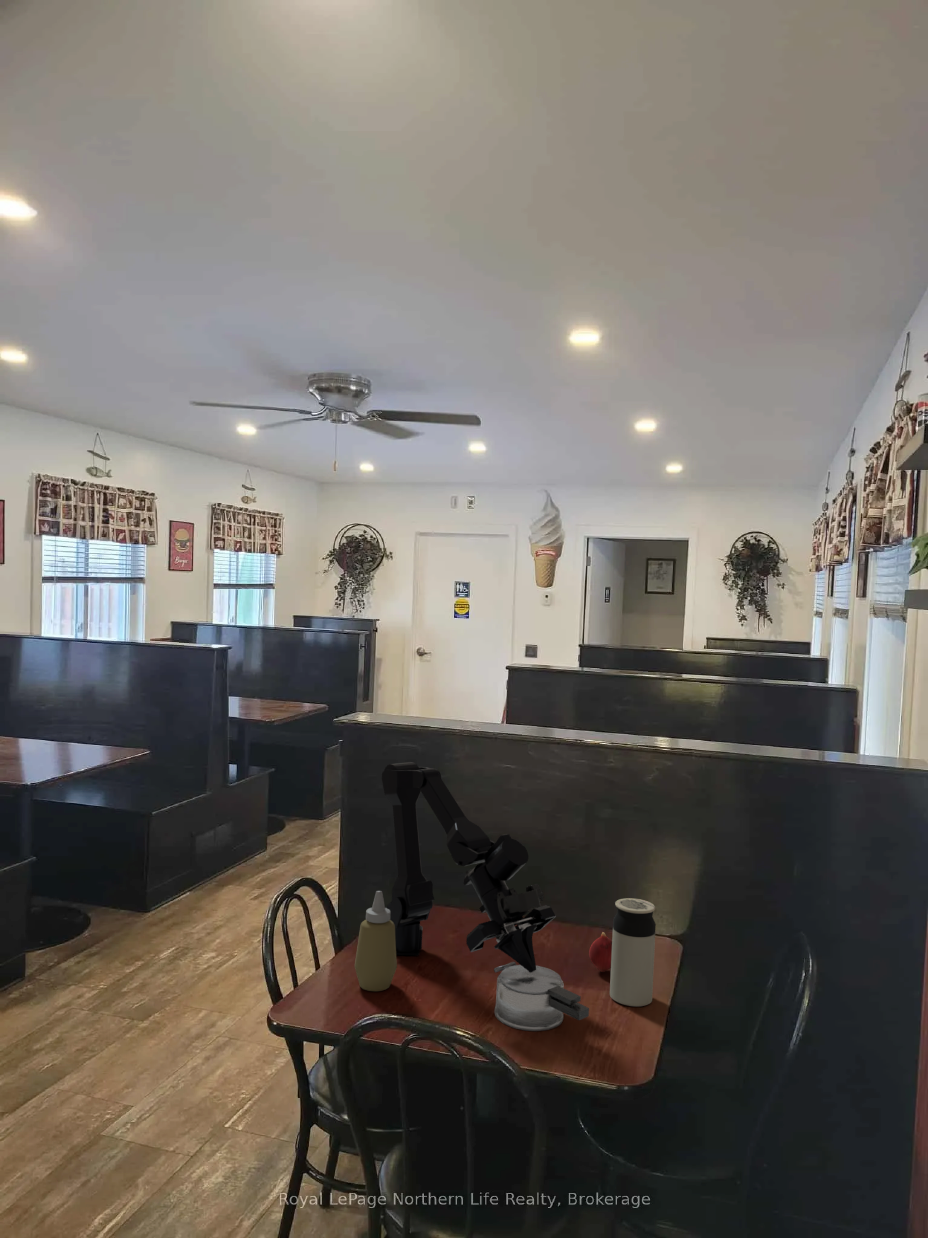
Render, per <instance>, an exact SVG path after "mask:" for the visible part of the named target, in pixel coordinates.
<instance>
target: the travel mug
mask: <svg viewBox="0 0 928 1238" xmlns="http://www.w3.org/2000/svg"><path fill="white" fill-rule="evenodd" d="M614 903H615V907H616V913H615V915H614V917H613V918H612V919H613V920H612V937H611V938H612V939H611V940H612V957H611V968H610V983H609V996H610V998H611V999H612V1000H613V1001H615V1002H616V1003H618V1004H620V1005H623V1006H628V1007H637V1008H638V1007H643V1006H647V1005H649V1004H651V1003H652V1002H653V990H654V989H653V987H654V969H655V968H654V967H655V947H656V945H655V944H656V927H657V926H656V925H657V923H656V920H655V919H654V917H653V914H654V911H655V910H656V906H655V905H654V904H653V903H652V902H650V901H647V900H644V899H640V898H631V897H630V898H629V897H628V898H626V897H625V898H620V899H618V900H616V901H615V902H614Z"/></svg>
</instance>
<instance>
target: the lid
mask: <svg viewBox="0 0 928 1238" xmlns="http://www.w3.org/2000/svg"><path fill="white" fill-rule="evenodd" d="M493 972H494V973H498V972H500V974H501V975H500V981H501V983H502V985H504V986H505V987H506V988H508V989H510V990H512V991H515V992H518V993H522V994H528V995H544V994H549V995H551V996H553V997H555V998H557V999H559V1000H561V1001H563V1002H565V1003H567V1004H570V1005H572V1004H574V1003H579V1002H581V1000H582V999H581V995H578V994H576V993H574V992H572V991H570V990H568V989H566V988H562V987H561V980H562V977H561V975H560V974H559V973H558V972H557V971H554V970H552V969H550V968H548V967H545V966H541V965H536V970H535V971H534V972H531V973H530V972H529V971H528V970H526V969H525V968H524V967H523V966H521V965H520V964H517V962H516V961H511V962H509V963H507V964H504V965H500V966H497V967H494V969H493Z"/></svg>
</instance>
